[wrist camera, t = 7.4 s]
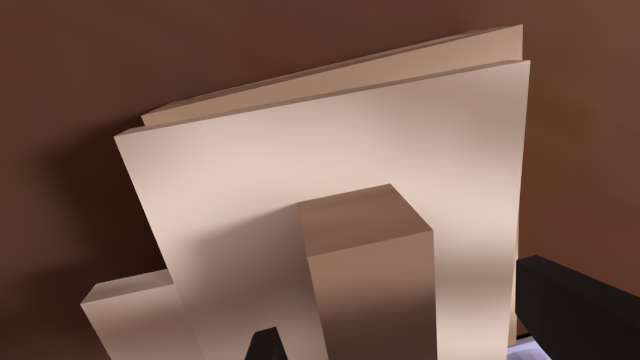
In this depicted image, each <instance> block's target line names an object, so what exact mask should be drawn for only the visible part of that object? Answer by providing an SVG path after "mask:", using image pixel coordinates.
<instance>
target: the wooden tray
mask: <svg viewBox="0 0 640 360" xmlns="http://www.w3.org/2000/svg"><path fill="white" fill-rule="evenodd" d="M522 35H523V24H521V25H513V26H506V27H498V28H490V29H483V30H475V31H468V32H464V33H460V34H456V35H451V36H447V37H443V38H439V39H435V40H430V41H426V42H422V43H418V44H414V45H410V46H405V47H401V48H397V49H393V50H389V51H384V52H380V53H376V54H372V55H368V56H364V57H359V58H355V59H351V60H347V61H343V62H338V63H334V64H330V65H326V66H322V67H318V68H313V69H309V70H305V71H301V72H297V73H292V74H288V75H284V76H280V77H276V78H272V79H267V80H263V81H259V82H255V83H251V84H246V85H242V86H238V87H234V88H230V89H226V90H221V91H217V92H213V93H209V94H205V95H200V96H196V97H192V98H188V99H184V100H180V101H175V102H171V103H169V104H167V105H164V106H162V107H160V108H158V109H155V110H153V111H151V112H149V113H146V114H144V115H142V116H141V117H142V119H143V122H144V124H145V126H148V125H154V124H159V123H165V122H170V121H176V120H181V119H187V118H192V117H198V116H203V115H209V114H214V113H220V112H225V111H231V110H236V109H242V108H247V107H253V106H258V105H263V104H269V103H274V102H280V101H285V100H291V99H296V98H302V97H307V96H313V95H318V94H324V93H329V92H335V91H340V90H346V89H351V88H357V87H362V86H367V85H373V84H378V83H384V82H389V81H395V80H400V79H406V78H411V77H417V76H422V75H428V74H433V73H439V72H444V71H450V70H455V69H461V68H466V67H471V66H477V65H482V64H488V63H493V62H499V61H504V60H522ZM518 227H519V208H518V221H517V234H516V246H515V259H514V271H513V284H512V296H511V309H510V321H509V334H508V346H510V345H514V344H516V323H517V315H516V314H515V286H516V260H518Z"/></svg>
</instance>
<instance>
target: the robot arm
mask: <svg viewBox="0 0 640 360" xmlns="http://www.w3.org/2000/svg"><path fill="white" fill-rule="evenodd" d="M515 314H516V315H517V316H518V318H519V319H520V321H521V322H522V323H523V325H524V326H525V328H526V329H527V330H528V332H529V333H530V334H531V336H530V337H527V338H523V339H520V340H516V344H514V345H510V346H507V359H506V360H640V297H637V296H635V295H632V294H630V293H627V292H625V291H622V290H620V289H618V288H615V287H613V286H610V285H608V284H605V283H603V282H601V281H598V280H596V279H593V278H591V277H589V276H586V275H584V274H582V273H579V272H577V271H574V270H572V269H570V268H567V267H565V266H562V265H560V264H558V263H555V262H553V261H550V260H548V259H545V258H542V257H540V256H537V255H534V256H530V257H526V258H523V259H519V260H516V286H515ZM244 360H288V358H287V355H286V352H285V350H284V347H283V344H282V341H281V339H280V336H279V333H278V330H277V328H276V327H272V328H268V329H265V330H261V331H257V332H255V333H254V334H253V336H252V339H251V342H250V345H249V348H248V351H247V354H246V356H245V359H244Z"/></svg>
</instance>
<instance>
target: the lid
mask: <svg viewBox="0 0 640 360" xmlns="http://www.w3.org/2000/svg"><path fill="white" fill-rule="evenodd" d="M529 70H530V60H504V61H499V62H493V63H488V64H482V65H477V66H471V67H466V68H461V69H455V70H450V71H444V72H439V73H433V74H428V75H422V76H417V77H411V78H406V79H400V80H395V81H389V82H384V83H378V84H373V85H367V86H362V87H357V88H351V89H346V90H340V91H335V92H329V93H324V94H318V95H313V96H307V97H302V98H296V99H291V100H285V101H280V102H274V103H269V104H263V105H258V106H253V107H247V108H242V109H236V110H231V111H225V112H220V113H214V114H209V115H203V116H198V117H192V118H187V119H181V120H176V121H170V122H165V123H159V124H154V125H148V126H143V127H138V128H132V129H128V130H126V131H124V132H122V133H120V134H118V135H116V136H114V139H115V141H116V144H117V146H118V149H119V151H120V153H121V156H122V158H123V161H124V163H125V166H126V168H127V170H128V173H129V175H130V178H131V180H132V183H133V185H134V187H135V190H136V192H137V195H138V197H139V200H140V202H141V204H142V207H143V209H144V212H145V214H146V217H147V219H148V221H149V224H150V226H151V229H152V231H153V234H154V236H155V238H156V241H157V243H158V246H159V248H160V251H161V253H162V256H163V258H164V260H165V263H166V265H167V268H168V269H164V270H160V271H155V272H150V273H145V274H141V275H136V276H131V277H127V278H122V279H117V280H112V281H108V282H103V283H98V284H96V285H95V286H94V287H93V289H92V290H91V291H90V292H89V294H88V295H87V296H86V297H85V299H84V300H83V301H82V303H81V304H80V305H81V307H82V308H83V310H84V312H85V314H86V315H87V317H88V319H89V321H90V323H91V324H92V326H93V328H94V330H95V331H96V333H97V335H98V337H99V338H100V340H101V342H102V344H103V346H104V347H105V349H106V351H107V353H108V354H109V356H110V358H111V360H244V359H245V356H246V354H247V351H248V348H249V345H250V342H251V339H252V336H253V334H254V333H255V332H257V331H261V330H265V329H268V328H272V327H276V328H277V330H278V333H279V336H280V339H281V341H282V344H283V347H284V350H285V352H286V355H287V358H288V360H506V359H507V346H508V334H509V321H510V309H511V296H512V284H513V271H514V259H515V246H516V234H517V221H518V208H519V196H520V183H521V171H522V158H523V146H524V133H525V121H526V108H527V96H528V83H529Z"/></svg>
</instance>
